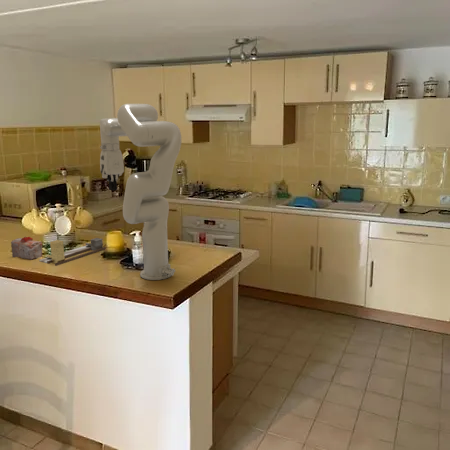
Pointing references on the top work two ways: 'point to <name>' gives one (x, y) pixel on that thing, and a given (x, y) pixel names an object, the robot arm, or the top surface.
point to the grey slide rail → (79, 251)
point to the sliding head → (57, 251)
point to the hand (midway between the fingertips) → (113, 189)
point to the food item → (26, 248)
